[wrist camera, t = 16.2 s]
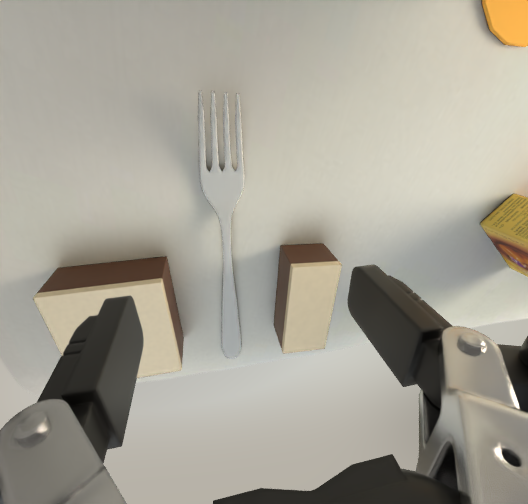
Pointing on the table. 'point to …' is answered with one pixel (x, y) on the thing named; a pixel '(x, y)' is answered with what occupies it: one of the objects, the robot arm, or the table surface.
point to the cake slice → (305, 296)
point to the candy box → (510, 231)
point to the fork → (224, 208)
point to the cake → (110, 286)
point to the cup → (508, 20)
